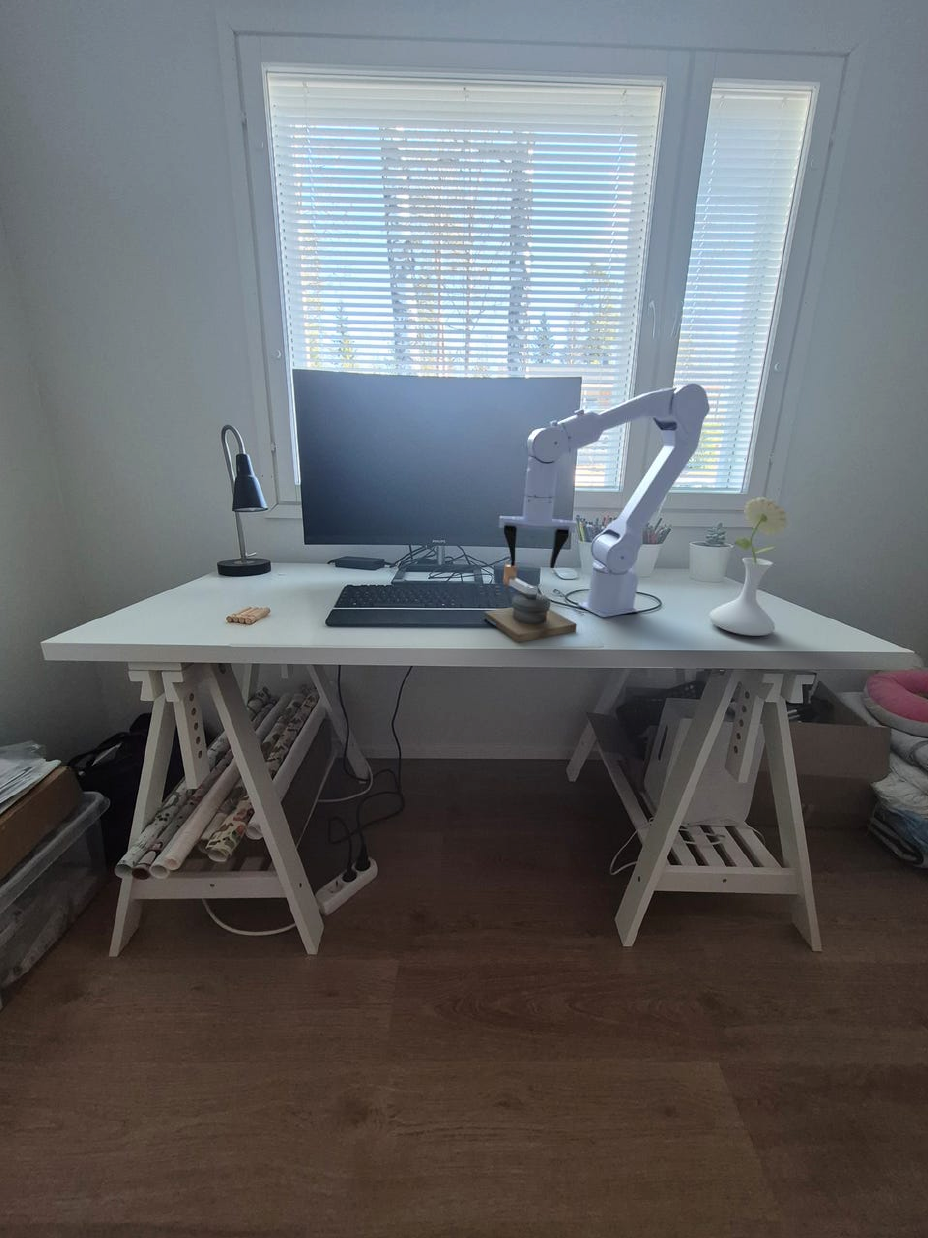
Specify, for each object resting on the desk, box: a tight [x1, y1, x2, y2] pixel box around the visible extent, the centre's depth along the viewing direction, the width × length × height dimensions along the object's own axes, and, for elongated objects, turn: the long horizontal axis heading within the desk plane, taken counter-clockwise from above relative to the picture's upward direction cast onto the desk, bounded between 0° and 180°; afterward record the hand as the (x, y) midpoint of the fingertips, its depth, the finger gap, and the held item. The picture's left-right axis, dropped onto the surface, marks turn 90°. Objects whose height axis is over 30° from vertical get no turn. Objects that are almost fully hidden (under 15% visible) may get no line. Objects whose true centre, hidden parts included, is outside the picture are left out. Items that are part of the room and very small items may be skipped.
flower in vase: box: [708, 496, 788, 637], centre depth 88 cm, size 13×11×25 cm
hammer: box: [502, 563, 539, 599], centre depth 91 cm, size 10×2×4 cm, turn 26°
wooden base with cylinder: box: [483, 592, 578, 643], centre depth 89 cm, size 13×12×6 cm
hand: (532, 565), depth 94 cm, fingers open, 7 cm apart
